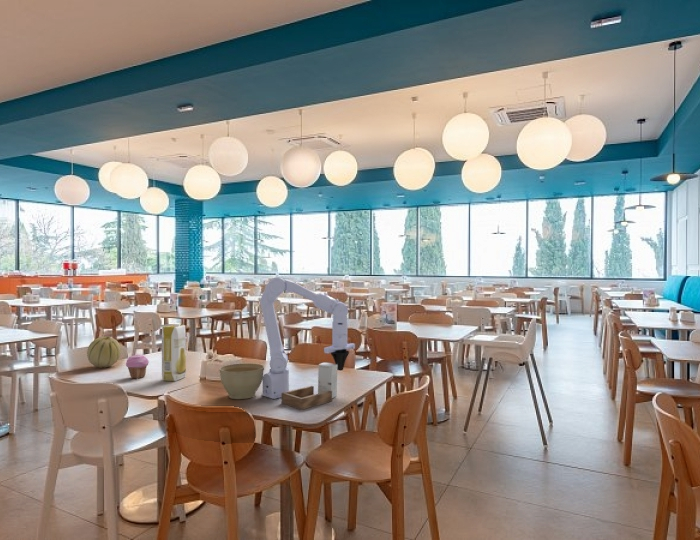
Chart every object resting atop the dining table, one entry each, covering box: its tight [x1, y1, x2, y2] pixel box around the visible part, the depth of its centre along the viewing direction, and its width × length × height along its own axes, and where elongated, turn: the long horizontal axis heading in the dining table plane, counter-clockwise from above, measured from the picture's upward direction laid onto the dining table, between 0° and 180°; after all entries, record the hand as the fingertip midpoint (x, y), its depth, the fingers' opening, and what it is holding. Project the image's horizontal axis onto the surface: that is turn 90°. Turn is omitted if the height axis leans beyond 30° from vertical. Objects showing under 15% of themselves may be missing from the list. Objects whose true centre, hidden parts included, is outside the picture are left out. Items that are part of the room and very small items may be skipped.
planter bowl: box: [219, 362, 265, 400], centre depth 175 cm, size 16×16×11 cm
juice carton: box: [161, 322, 187, 382], centre depth 202 cm, size 9×8×24 cm
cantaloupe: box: [86, 335, 122, 368], centre depth 226 cm, size 15×15×15 cm
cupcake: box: [125, 354, 150, 379], centre depth 205 cm, size 9×9×10 cm
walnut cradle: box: [281, 385, 333, 410], centre depth 167 cm, size 14×11×4 cm
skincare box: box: [317, 362, 338, 399], centre depth 174 cm, size 6×4×12 cm
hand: (339, 369), depth 179 cm, fingers closed
